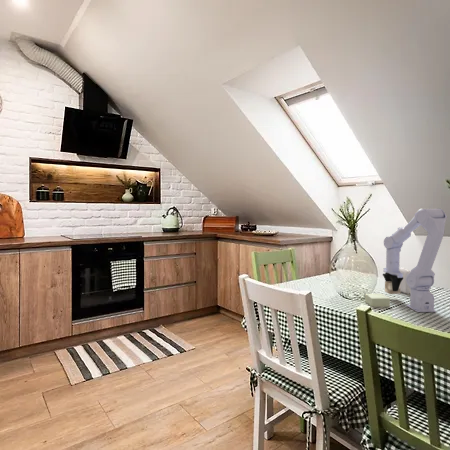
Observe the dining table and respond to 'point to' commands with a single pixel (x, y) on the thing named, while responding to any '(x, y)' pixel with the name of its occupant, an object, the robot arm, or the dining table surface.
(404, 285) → the photo printer
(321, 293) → the dining table surface
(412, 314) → the dining table surface
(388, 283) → the cream cube
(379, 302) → the sage base block
